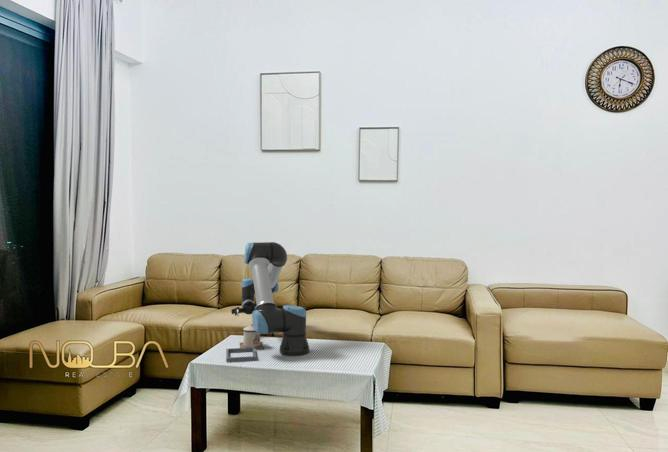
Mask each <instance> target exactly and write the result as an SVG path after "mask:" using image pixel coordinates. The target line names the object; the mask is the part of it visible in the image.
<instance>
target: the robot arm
mask: <svg viewBox="0 0 668 452" xmlns="http://www.w3.org/2000/svg"><path fill="white" fill-rule="evenodd" d="M287 260H288V254H287V251H286V248H284V246H282V245H281V244H280V243H277V242H275V241H272V242H271V241H269V242H265V241H264V242H254V241H253V242H247V243H246V245H245V249H244V262H243V263H244V264H245V265H247V266H248V268H249V269H250V270H251V274H252V275H251V276H252V278H243V279H242V281H241V306H237V307H233V308H232V309H231V314H232V315H234V316H236V317H239V315H240V314H245V315H251V321H252V323H253V326H254V329H255V331H256V332H257V333H258V334H260V335H262V334H263V335H267V334H278V333H279V334H280V333H282V338H281V339H282V340H281V342H280V345H279V353H280V354H281V355H285V356H292V357H293V356H294V357H295V356H304V355H307V354H308V353H310V345H309V342H308V339H307V311H306V308H305V307H303V306H298V305H291V304H290V305H289V304H287V305H283V307H282V308H278V305H277V303H275V302H274V298H273V294H277V293H278V292H279V282H278V280H279V277H280V275H281V272H282V270H283V268H284V266H285V265H286V263H287V262H288V261H287ZM255 302H256V304H255Z"/></svg>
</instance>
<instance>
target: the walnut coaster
mask: <svg viewBox="0 0 668 452" xmlns="http://www.w3.org/2000/svg"><path fill="white" fill-rule="evenodd" d="M263 343H264V342H263V341H260V346H258V347H254V348H255V350H259V349H261V350H262V349H264V344H263ZM239 348H249V347H245V346H244V341H243V342H239Z"/></svg>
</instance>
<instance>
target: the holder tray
mask: <svg viewBox="0 0 668 452" xmlns="http://www.w3.org/2000/svg"><path fill="white" fill-rule="evenodd" d="M225 349H226V352H225V353H226V356H225V359H226V363H233V362H251V361H253V362H255V361H257V354H256V349H255V348H254V347H251V348H240V347H235V348H225ZM250 352H252V355H251V356H250V355H249V356H232V357H230V356H229V354H230V353H250Z"/></svg>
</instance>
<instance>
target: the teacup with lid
mask: <svg viewBox="0 0 668 452" xmlns="http://www.w3.org/2000/svg"><path fill="white" fill-rule="evenodd" d="M242 330H243V342H244V346H245V347H249V348H251V347H258V346H260V342H261V334H258V333H257V332H256V331H255V329H254V326H253V322H252V323H250V324H249V325H248V326H246V327H243V329H242Z"/></svg>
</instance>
